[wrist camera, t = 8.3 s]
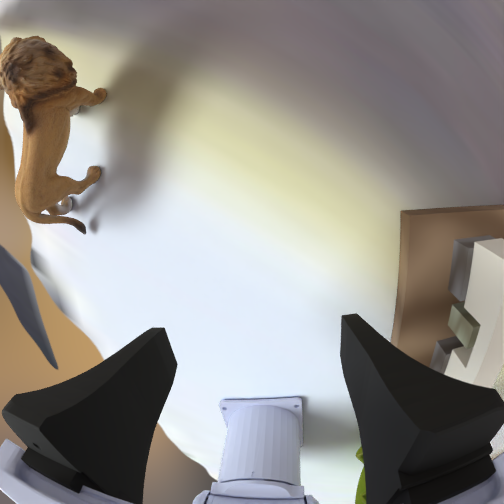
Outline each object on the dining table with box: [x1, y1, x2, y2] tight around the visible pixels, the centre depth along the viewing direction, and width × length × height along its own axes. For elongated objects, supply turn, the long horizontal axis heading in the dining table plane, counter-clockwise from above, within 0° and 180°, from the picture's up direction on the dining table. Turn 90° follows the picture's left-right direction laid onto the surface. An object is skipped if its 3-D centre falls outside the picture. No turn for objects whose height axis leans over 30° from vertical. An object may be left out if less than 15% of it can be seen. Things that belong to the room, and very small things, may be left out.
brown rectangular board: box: [391, 205, 504, 374], centre depth 17 cm, size 17×12×5 cm
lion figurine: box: [0, 36, 107, 234], centre depth 13 cm, size 15×5×9 cm, turn 1°
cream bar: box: [444, 238, 504, 388], centre depth 15 cm, size 14×3×4 cm, turn 8°
